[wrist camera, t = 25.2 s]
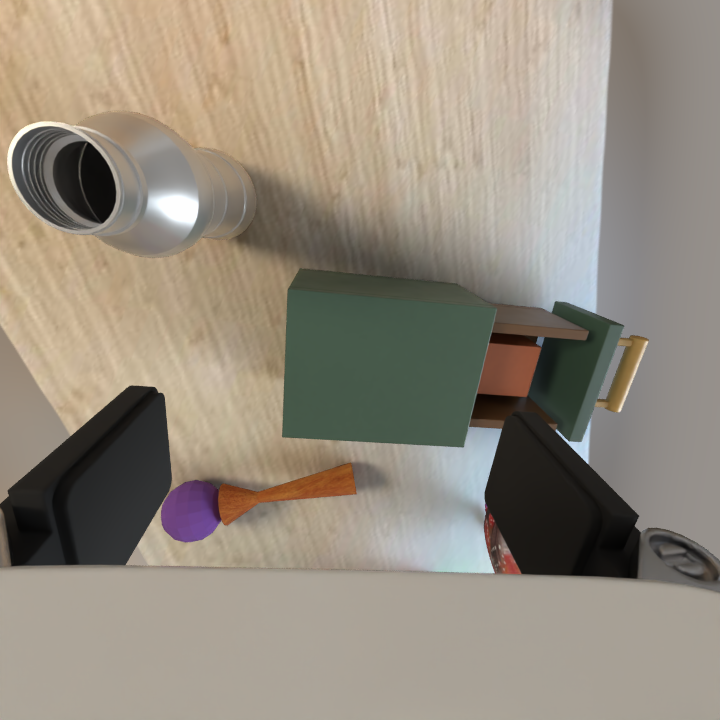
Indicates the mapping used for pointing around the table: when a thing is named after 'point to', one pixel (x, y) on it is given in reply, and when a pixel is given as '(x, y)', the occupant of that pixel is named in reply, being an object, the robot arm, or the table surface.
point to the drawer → (564, 367)
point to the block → (508, 365)
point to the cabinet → (382, 358)
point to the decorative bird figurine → (498, 548)
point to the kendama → (241, 501)
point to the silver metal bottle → (130, 183)
